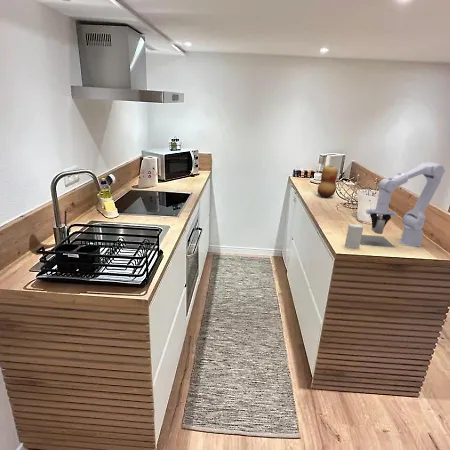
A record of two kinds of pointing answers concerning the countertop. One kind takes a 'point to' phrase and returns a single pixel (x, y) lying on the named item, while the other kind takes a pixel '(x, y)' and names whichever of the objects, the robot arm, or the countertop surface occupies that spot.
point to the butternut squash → (328, 181)
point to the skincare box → (354, 236)
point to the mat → (375, 241)
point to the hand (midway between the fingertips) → (377, 227)
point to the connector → (379, 225)
